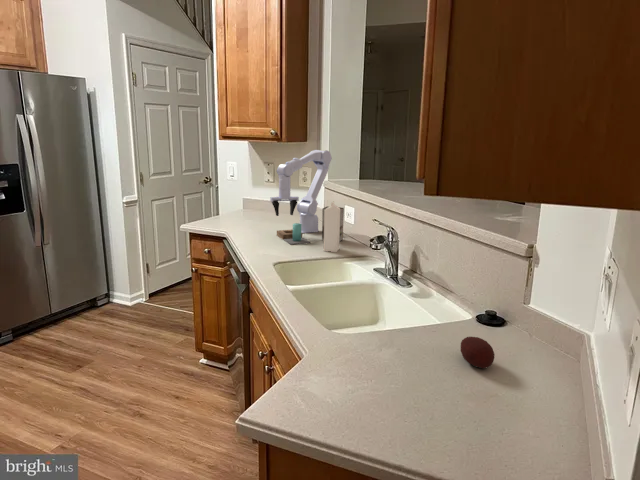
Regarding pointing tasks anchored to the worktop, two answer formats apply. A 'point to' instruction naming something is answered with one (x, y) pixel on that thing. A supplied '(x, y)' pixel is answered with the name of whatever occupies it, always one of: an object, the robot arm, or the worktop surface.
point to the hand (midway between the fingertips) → (284, 215)
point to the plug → (297, 231)
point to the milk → (331, 228)
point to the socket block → (285, 234)
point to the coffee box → (340, 223)
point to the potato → (477, 352)
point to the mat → (291, 242)
